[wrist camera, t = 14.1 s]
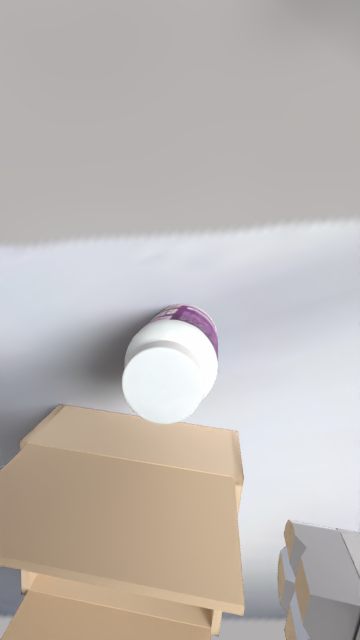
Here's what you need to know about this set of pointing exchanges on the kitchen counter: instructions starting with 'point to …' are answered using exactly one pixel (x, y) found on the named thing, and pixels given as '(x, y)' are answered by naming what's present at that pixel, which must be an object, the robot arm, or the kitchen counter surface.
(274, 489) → the kitchen counter surface
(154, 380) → the pill bottle
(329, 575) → the robot arm
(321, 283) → the kitchen counter surface
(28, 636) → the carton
